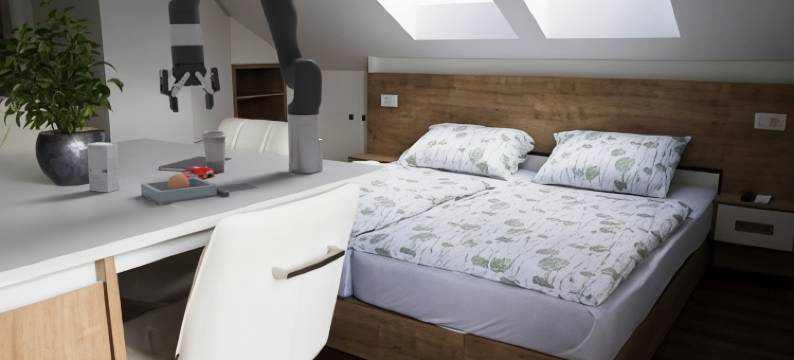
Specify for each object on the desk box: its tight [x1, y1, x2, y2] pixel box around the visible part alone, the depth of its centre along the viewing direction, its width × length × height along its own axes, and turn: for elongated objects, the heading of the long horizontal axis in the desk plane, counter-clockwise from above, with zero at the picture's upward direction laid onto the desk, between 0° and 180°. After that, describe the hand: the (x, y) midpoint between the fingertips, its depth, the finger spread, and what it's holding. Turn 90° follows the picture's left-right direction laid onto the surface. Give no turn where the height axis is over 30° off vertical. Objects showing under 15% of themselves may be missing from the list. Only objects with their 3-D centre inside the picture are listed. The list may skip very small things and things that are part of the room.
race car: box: [180, 166, 215, 180], centre depth 176 cm, size 13×5×4 cm, turn 155°
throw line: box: [216, 186, 230, 198], centre depth 162 cm, size 1×18×1 cm, turn 39°
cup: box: [201, 130, 228, 175], centre depth 188 cm, size 7×7×12 cm
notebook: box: [158, 155, 233, 172], centre depth 201 cm, size 13×2×21 cm
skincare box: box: [86, 141, 120, 193], centre depth 162 cm, size 6×4×12 cm
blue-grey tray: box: [140, 177, 218, 206], centre depth 156 cm, size 14×13×3 cm
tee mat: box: [216, 182, 259, 193], centre depth 166 cm, size 8×8×1 cm
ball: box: [167, 173, 189, 190], centre depth 156 cm, size 5×5×5 cm
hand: (192, 110), depth 157 cm, fingers open, 8 cm apart
